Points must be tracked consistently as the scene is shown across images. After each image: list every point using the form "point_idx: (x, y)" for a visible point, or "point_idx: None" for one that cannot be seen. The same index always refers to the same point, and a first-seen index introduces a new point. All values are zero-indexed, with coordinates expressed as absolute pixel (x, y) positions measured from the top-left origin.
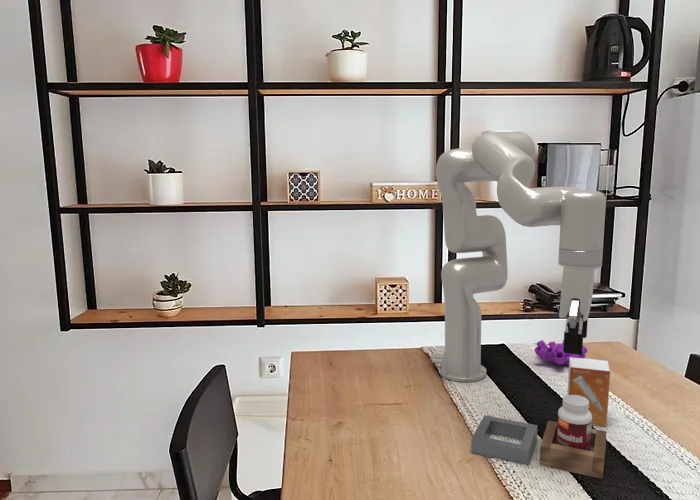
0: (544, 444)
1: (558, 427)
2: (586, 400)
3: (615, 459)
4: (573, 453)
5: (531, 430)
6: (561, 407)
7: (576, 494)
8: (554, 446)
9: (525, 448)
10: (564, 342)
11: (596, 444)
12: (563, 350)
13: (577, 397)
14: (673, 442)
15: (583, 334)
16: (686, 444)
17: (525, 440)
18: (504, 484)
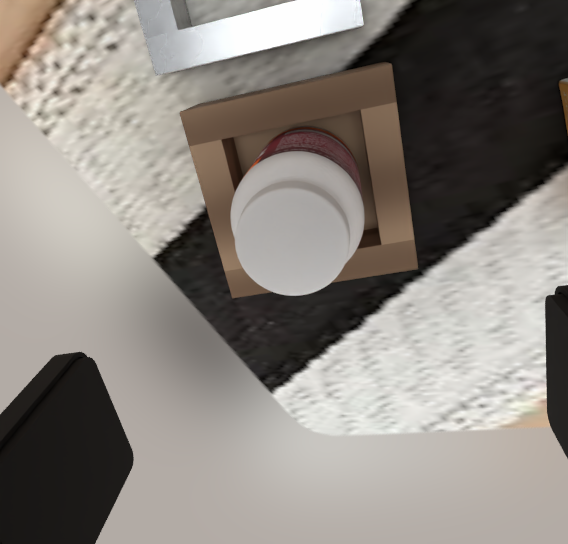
0: (198, 120)
1: (260, 156)
2: (312, 284)
3: (367, 277)
4: (209, 217)
5: (306, 22)
6: (290, 169)
7: (132, 235)
8: (207, 154)
9: (163, 59)
10: (11, 413)
11: None
12: (51, 359)
13: (322, 243)
14: None
15: (558, 426)
16: None
17: (216, 34)
18: (31, 53)
